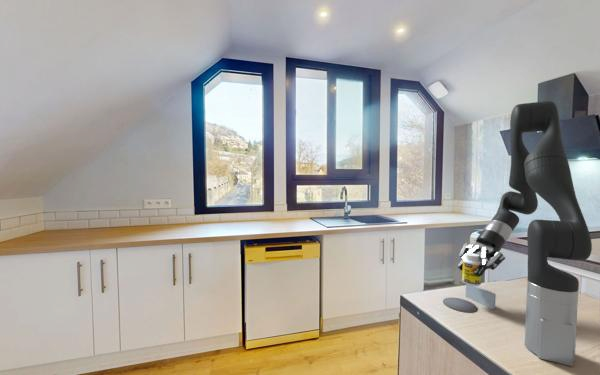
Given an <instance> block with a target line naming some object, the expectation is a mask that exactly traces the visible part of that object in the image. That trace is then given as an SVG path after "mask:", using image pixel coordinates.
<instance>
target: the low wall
mask: <svg viewBox="0 0 600 375" xmlns="http://www.w3.org/2000/svg"><path fill="white" fill-rule="evenodd" d="M465 297H467V298H468V299H471V300H472V301H474V302H477V303H479V304H480V305H482V306H485V307H487V308H489V309H491V310H494V309H496V301H497V300H496V299H497V298H496V293H495V292H492V291H490V290H488V289H485V288H483V287H481V286H480V285H479V286H471V285H468V284H465Z"/></svg>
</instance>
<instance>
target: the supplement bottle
mask: <svg viewBox="0 0 600 375" xmlns="http://www.w3.org/2000/svg"><path fill="white" fill-rule="evenodd" d="M481 261H482V260H481V259H480V258H479V255H478V254H474V253H466V256H465V258H464V259H463V269H462V270H461V271H462V277H461V278H462V279H461V281H462V282H463V283H464V284H465V285H466V284H468V285H471V286H479V287H480V286H481V285H482V276H480V277H477V276H476V275H475V274H474V272H475V270H476V269H477V268H478V266H479V265H481Z"/></svg>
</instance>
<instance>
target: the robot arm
mask: <svg viewBox="0 0 600 375" xmlns="http://www.w3.org/2000/svg"><path fill="white" fill-rule="evenodd" d="M510 114H511V115H510V121H509V136H510V137H509V138H510V144H509V146H510V171H509V179H508V186H509V188H511V189H513V190H514V191H506V192H505V193H503V194H502V196H501V197H500V201H499V206H498V209H497V211H496V213H495V215H494V216H493V217H492V219H491V220H490V221H489V222H488V223H487V224H486V225H485V227H484V228H483V230H481V232H480V233H479V235H478V236H477V237H476V241H475V243H472V245H471V244H468V242H465V243H463V245H462V248H461V250H460V252H459V254H458V256H459V257H460V258H461V260H460V262H459V263H457V264H458V265H457V268H458V269H459V271H462V269H463V259H464V258H465V256H466V253H474V254H478V255H479V260H480V261H481V265H479V266H478V268H477V269H476V270H475V272H474V274H475V275H476V276H477V277H480V276H481V277H482V276H483V274H484V273H485V272H486V271H487V270H489V269H490V270H492V271H493V270H495V269H497V267H498V266H499V265H500V264H502V262H503V261H505V259H506V257H505V255H504V254H503V253H502V252H500V251H501V250H502V249H503V247H504V246H505V244H506V242H507V241H508V240H509V238H510V236H511V235H512V232H513V231H514V230H515V228H517V226H518V224H520V217H519V216H518V215H517V214H516V213H519V214H522V215H532V214H533V213H535V212H536V210H537V209H538V205H539V201H538V196H539V197H540V198H541V199H542V200H544V201H545V202H546V203H547V204H548V205H549V206H550V207H552V209H553V210H554V211H555V213H556V215H557V216H558V219H559V220H551V219H550V220H549V219H533V220H532V221H530V222H529V224H528V228H527V231H526V232H527V236H526V240H527V279H526V280H527V282H526V300H525V303H526V304H525V326H524V327H525V328H524V346H525V347H526V349H528V350H529V351H530V352H531V353H533V354H535V355H536V356H537V357H538V358H539V359H542V360H545V361H550V362H554V363H557V364H561V365H566V366H569V367H574V363H575V361H576V346H577V344H576V343H577V342H576V340H577V325H578V324H577V323H578V302H579V286H580V281H579V279H578V278H577V277H576V276H575V275H573V274H571V273H569V272H568V271H565V270H563V269H559V268H556V267H554V266H553V265H551V264H549V262H548V258H552V259H558V260H559V259H560V260H566V261H567V260H570V261H586V260H588V259H589V258H590V256H591V254H592V250H593V248H592V247H593V246H592V245H593V244H592V238H591V234H590V231H589V227H588V225H587V222H586V220H585V218H584V214H583V211H582V210H581V207H580V204H579V201H578V198H577V194H576V191H575V186H574V183H573V182H574V181H573V178H572V177H573V176H572V173H571V169H570V168H571V167H570V163H569V161H568V157H567V154H566V153H567V152H566V151H565V147H564V143H563V139H562V132H561V125H560V117H559V116H560V115H559V109H558V107H557V105H556V103H555V102H553V101H549V100H548V101H543V100H542V101H536V102H525V103H519V104H516V105H515V106H514V107H513V108H512V110H511V113H510ZM535 132H536V133H537V132H541V133H543V135H542V137H541V138H540V140H539V142H538V143H537V144H536V145H535V147H533V149H532V150H530V152H529V151H528V149H527V147H526V146H525V143H524V140H523V134H524V133H535ZM514 212H515V213H514Z"/></svg>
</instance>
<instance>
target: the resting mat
mask: <svg viewBox="0 0 600 375" xmlns="http://www.w3.org/2000/svg"><path fill="white" fill-rule="evenodd" d="M442 303H443V305H444V306H446V307H447V308H449V309H452V310H455V311H458V312H463V313H475V312H477V311H478V307H477V306H476V304H474V303H473V302H471V301H469V300H466V299H464V298H460V297H459V298H458V297H445V298H443V300H442Z"/></svg>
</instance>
